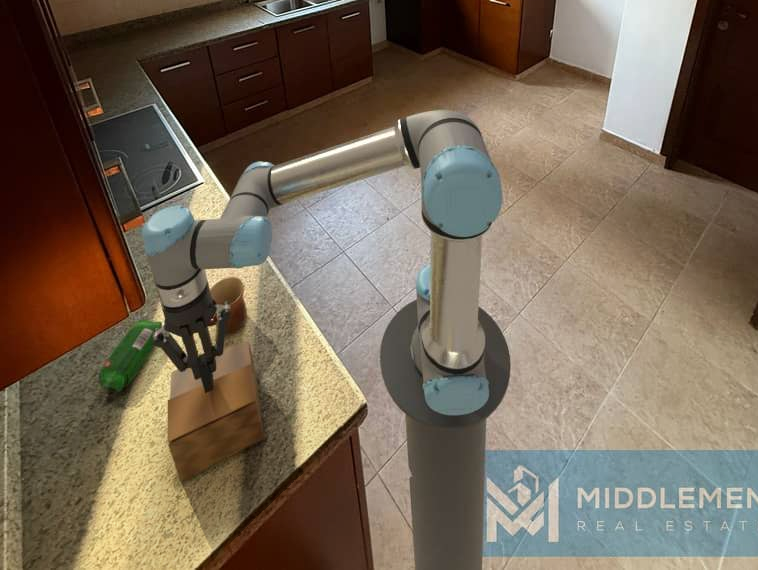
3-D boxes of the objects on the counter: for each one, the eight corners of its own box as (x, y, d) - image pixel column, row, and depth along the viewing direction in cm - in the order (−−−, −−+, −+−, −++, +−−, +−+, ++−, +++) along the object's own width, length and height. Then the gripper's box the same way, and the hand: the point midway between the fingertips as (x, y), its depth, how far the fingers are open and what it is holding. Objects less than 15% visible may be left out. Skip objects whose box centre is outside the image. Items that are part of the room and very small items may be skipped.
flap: (250, 364, 86) (250, 363, 86) (255, 400, 81) (255, 399, 81) (168, 400, 80) (167, 400, 80) (168, 442, 75) (167, 441, 75)
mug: (244, 300, 114) (238, 271, 111) (255, 325, 107) (249, 294, 104) (196, 327, 107) (188, 297, 104) (205, 355, 100) (196, 323, 97)
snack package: (170, 328, 107) (165, 313, 106) (125, 397, 93) (119, 380, 91) (144, 326, 108) (139, 311, 107) (95, 394, 93) (89, 377, 92)
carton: (256, 375, 96) (248, 339, 92) (264, 438, 84) (255, 400, 81) (182, 409, 90) (171, 371, 86) (180, 481, 79) (167, 441, 75)
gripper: (139, 324, 68) (170, 422, 76) (225, 292, 73) (246, 387, 81) (144, 288, 75) (172, 381, 82) (223, 260, 80) (243, 351, 87)
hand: (209, 384), depth 82 cm, fingers closed
